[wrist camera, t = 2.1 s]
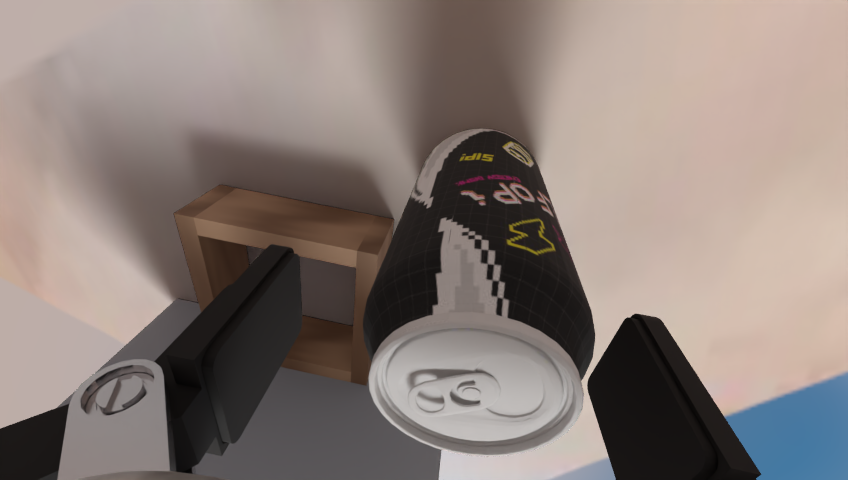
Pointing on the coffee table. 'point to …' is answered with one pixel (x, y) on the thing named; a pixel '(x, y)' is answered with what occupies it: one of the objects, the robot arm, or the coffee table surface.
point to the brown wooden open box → (308, 237)
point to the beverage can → (479, 306)
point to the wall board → (299, 424)
